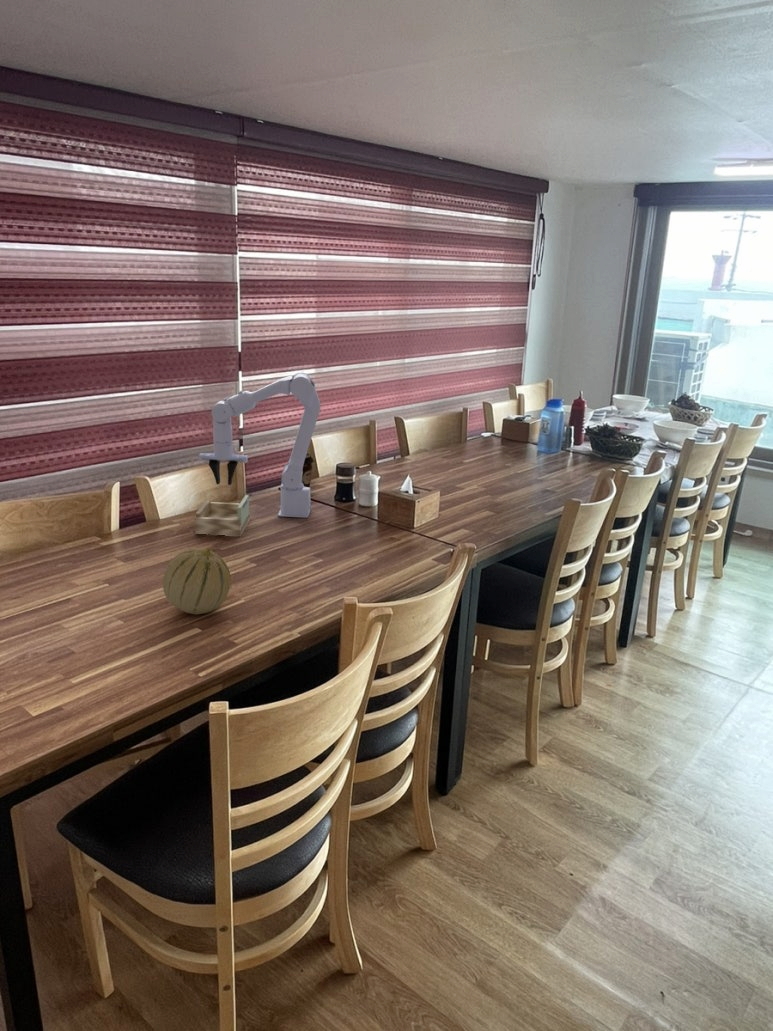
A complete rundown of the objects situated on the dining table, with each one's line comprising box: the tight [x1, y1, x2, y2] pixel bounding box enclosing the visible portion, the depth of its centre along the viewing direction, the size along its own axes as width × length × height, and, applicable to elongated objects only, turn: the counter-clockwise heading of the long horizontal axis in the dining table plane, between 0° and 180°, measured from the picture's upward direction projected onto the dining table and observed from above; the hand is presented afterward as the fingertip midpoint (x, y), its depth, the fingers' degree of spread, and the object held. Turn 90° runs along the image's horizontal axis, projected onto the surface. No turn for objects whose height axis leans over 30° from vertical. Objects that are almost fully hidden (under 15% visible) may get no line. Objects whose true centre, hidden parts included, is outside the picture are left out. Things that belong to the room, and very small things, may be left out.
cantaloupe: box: [162, 546, 232, 615], centre depth 162 cm, size 15×15×15 cm
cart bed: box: [194, 499, 251, 537], centre depth 216 cm, size 13×15×6 cm
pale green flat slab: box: [237, 494, 250, 527], centre depth 215 cm, size 1×12×6 cm, turn 0°
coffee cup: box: [302, 453, 315, 489], centre depth 251 cm, size 9×8×13 cm
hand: (224, 483), depth 226 cm, fingers open, 3 cm apart
